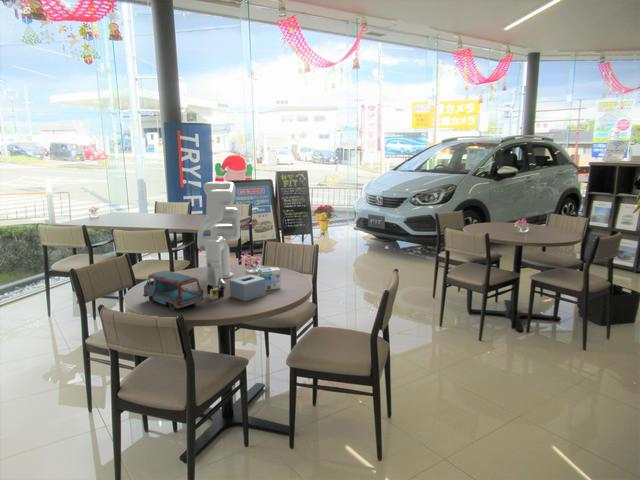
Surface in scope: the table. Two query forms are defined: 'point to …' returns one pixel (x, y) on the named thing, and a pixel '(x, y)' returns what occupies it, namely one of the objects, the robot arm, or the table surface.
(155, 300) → the toy van
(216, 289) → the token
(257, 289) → the box
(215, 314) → the table surface
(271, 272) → the light bulb box
